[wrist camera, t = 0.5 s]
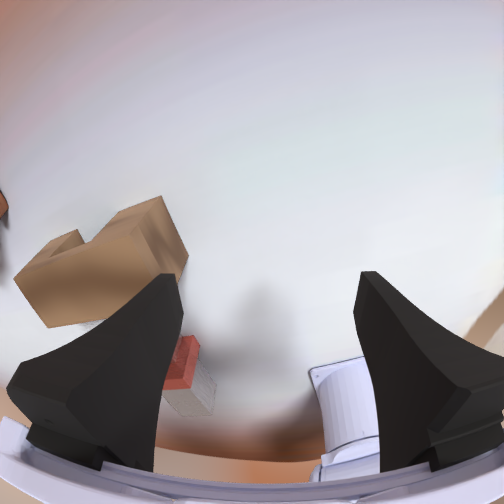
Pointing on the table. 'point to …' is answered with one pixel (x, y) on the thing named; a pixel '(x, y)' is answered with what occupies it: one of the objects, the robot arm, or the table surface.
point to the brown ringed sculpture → (2, 205)
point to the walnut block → (102, 266)
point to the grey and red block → (189, 381)
